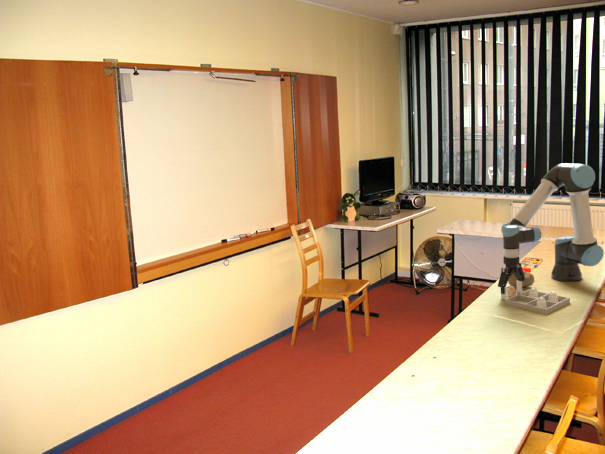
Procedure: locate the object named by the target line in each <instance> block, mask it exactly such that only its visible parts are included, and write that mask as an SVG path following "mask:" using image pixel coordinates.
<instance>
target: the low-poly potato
mask: <svg viewBox="0 0 605 454" xmlns="http://www.w3.org/2000/svg"><path fill="white" fill-rule="evenodd" d="M523 273H524V276H525V279H524V281H522V288H526V287H530V286H533V285H534V283H535V276H534V275H533V274H532V273H531V272H527V271H525V270H523ZM516 281H517V278H516V277H515V275H514V274H512V275H511V276H510V277H509V280H508V282H507V284H508V285H510V286H514V287H515V288H517V283H516Z"/></svg>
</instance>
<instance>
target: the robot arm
mask: <svg viewBox="0 0 605 454" xmlns="http://www.w3.org/2000/svg"><path fill="white" fill-rule="evenodd" d="M595 180H596V173H595V170H594V169H593V168H592V167H591V166H590V165H588V164H583V163H571V162H570V163H567V162H564V163H563V162H562V163H559V164H557V165H555V166H553V167H552V168H551V169H550V170H548V171H547V173H546V174H545V175H544V176H543V177H542V178H541V180H540V184H539V185H538V187H537V188H536V189H535V190H534V191H533V192H532V194H531V195H530V197H528V199H527V200H526V202H525V203H524V204H522V205H523V206H521V207H520V209H519V210H518V212H517V213H516V214H515V215H514V217H513V218H512V219H511V220H510V222H505V223H503V224H502V226H501V229H500V230H501V234H502V247H503V252H502V253H503V259H502V260H503V264H504V265H505V267H501V272H500V275H499V276H500V277H499V279H498V282H497V283H498V284H497V287H498V288H500V299H501V300H504V301H505V300H506V299H508V295H507V291H508V288H507V284H508V280H509V277H510V276H511V275H512V274H514V275H515V277H516V278H517V281H516V283H517V287H516V293H518V294H520V293H522V292H523V287H522V281H524V279H525V276H524V273H523V271H524V270H523V267H522V262H520V244H527V243H534V242H538V241H540V240H541V238H542V230H541V229H540V227H538V226H527V225H528V224H529V223H530V221H531V220H533V218H534V217H535V215H536V214H537V213H538V212H539V210H540V209H541V208H542V207H543V205H544V204H545V203H546V202H547V200H548V199H549V198H550V197H551V195H552V194H554V192H557V191H558V190H559V189H560V188H561V187H564V189H565V193H567V194H568V196H569V203H570V209H571V217H572V218H571V219H572V226H573V235H574V236H573V235H572V236H571V235H569V236H568V235H567V236H559V237H557V238H555V239H554V242H555V243H554V265H553V268H552V271H551V278H552V279H554V280H556V281H561V282H577V281H580V280H582V278H583V274H582V271H581V267H580V265H581V266H582V265H583V266H584V267H594V266H597V265H599V263H600V262H601V261H602V260H603V257H604V253H605V252H604V248H603V247H602V246H601V245H599V244H598V239H597V238H596V237H595V236H594V234H593V223H592V222H593V221H592V216H591V215H592V214H591V213H592V212H591V206H590V198H589V192H590V191H591V190H592V186H593V185H594V182H595Z"/></svg>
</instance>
